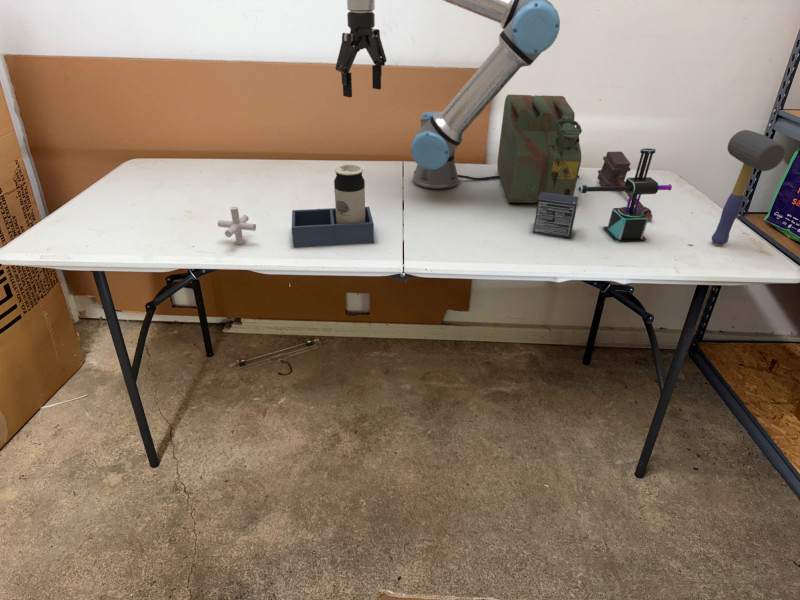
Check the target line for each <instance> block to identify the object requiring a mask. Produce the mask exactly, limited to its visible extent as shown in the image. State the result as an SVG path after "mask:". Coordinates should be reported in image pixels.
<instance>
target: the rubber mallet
mask: <svg viewBox="0 0 800 600" xmlns="http://www.w3.org/2000/svg"><path fill="white" fill-rule="evenodd" d="M785 151H786V149H785V147H784V145H783V144H781V143H779V142H778V141H776V140H774V139H772V138H770V137H769V136H767V135H764V134H762V133H758V132H756V131H753V130H749V129H744V130H740V131H738V132H736V133H735V134H734V135H732V137H730V139H729V141H728V143H727V152H728V153H729V154H730V156H732V157H733V158H734V159H736V160H738V161H740V163H742V164H743V165H742V167H741V170H740V172H739V175H738V177H737V179H736V182H735V184H734V187H733V189H732V192H731V193H730V194H729V196H728V198H727V200H726V201H725V203H724V206H723V208H722V210H721V215H720V219H719V222H718V223H717V226H716V229H715V231H714V233H713V234H712V235H711V241H712V244H713V245H715V246H718V247H722V246H725V245H726V244H727V243H728V241H729V238H730V232H731V230H732V228H733V225H734V222H735V220H736V219H737V217H738V215H739V213H740V211H741V208H742V204H743V201H744V194H745V192H746V188H747V186H748V184H749V181H750V178H751V176H752V174H753V171H754V169H756V170H757V171H758V170H759V171H761V172H762V171H763V172H768V171H771V170H773V169H775V168H776V167H778V166H779V165H780V164H781V163H782V161H783V159H784V157H785V153H786V152H785Z"/></svg>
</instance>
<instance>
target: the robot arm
mask: <svg viewBox="0 0 800 600" xmlns="http://www.w3.org/2000/svg"><path fill="white" fill-rule="evenodd" d="M442 1H443V2H445V3H447V4H450V5H453V6H456V7H458V8H460V9H463V10H465V11H468V12H470V13H473V14H476V15H478V16H480V17H483V18H486V19H488V20H490V21H493V22H496V23H498V24H499V25H500V27H501V29H503V30H502V31H501V32H500V33H499V35H498V44H497V46H496V47H495V48H494V49H493V51H492V52H491V53H490V54H489V56H487V58H486V59H485V60H484V61H483V62H482V64H481V65H480V66H479V67H478V69H477V70H476V71H475V72H474V74H473V75H472V76H471V77H470V78H469V79H468V81H466V83H465V84H464V85H463V87H462V88H461V89H460V90H459V91H458V93H457V94H456V95H455V96H454V97H453V99H452V100H451V101H450V102H449V103H448V104H447V106H446V107H445V108H444V109H443V111H424V112H423V113H422V114H421V116H420V119H419V122H420V129H419V130H418V132H417V133H416V134H415V136H414V137H413V139H412V142H411V147H410V153H411V157H412V159H413V161H414V162H415V163H416V168H415V170H414V171H413V183H414V184H415V185H416V186H418V187H420V188H423V189H428V190H447V189H452V188H454V187H456V186H457V185H458V183H459V178H461V179H467V180H471V181H484V180H485V181H486V180H493V179H500V176H499V175H491V176H482V177H474V176H469V175H462V174H458V171H457V167H456V164H455V154H456V153H455V152H456V149H457V148H458V147H459V145H461V144H462V142H463V141H464V133H465V131H466V130H467V129H468V128H469V127H470V126H471V124H473V122H474V121H475V120H476V119H477V118H478V117H479V116H480V115H481V114H482V112H484V110H485V109H486V108H487V106H489V104H490V103H491V102H492V101H493V100H494V98H495V97H496V96H497V95H498V94H499V93H500V92H501V90H503V88H504V87H505V86H506V85H507V84H508V83H509V82H510V81H511V80H512V78H513V77H514V76H515V75H516V73H518V72H519V70H520V69H521V68H522V67H523V68H524V67H530V66H531V65H532V64H533V63H534V62H535V61H536V60H537V58H539V57H540V55H542V53H544V52H545V51H547V50H548V49H550V47H552V45H553V44H554V43H555V41H556V40H557V38H558V35H559V32H560V29H561V28H560V27H561V20H560V15H559V12H558V10H557V9H556V8H555V6H554V5H553V4H552V3H551V2H550V1H549V0H442ZM375 3H376V1H375V0H346V7H347V8H346V10H347V11H348V12H347V13H346V16H347V27H348V28H349V29H350V31H349V32H343V33H342V34H341V44H340V48H339V52H338V56H337V60H336V64H335V71H336V72H337V71H338V73H340V74H341V75H340V76H341V84H342V97H344V98H345V97H346V98H353V84H352V83H353V82H352V72H350V70H351V68H352V66H353V64H354V61H355V59H356V57H357V55H358V53H359V52H360V51H361V50H364V49H365V50H366V51H367V53H368V55H369V57H370V59H371V61H372V63H373V65H372V66H371V71H372V73H371V74H372V89H374V90H382V75H383V74H382V69H383V68H382V67H384V66H385V65H386V63H387V57H386V53H385V49H384V46H383V42H382V40H381V39H382V38H381V33H380V29H378V28H374V27H375V26H376V25H375V23H376V21H375V20H376V19H375V15H376V14H375V13H374V12H373V11H375V10H376V6H375V5H376V4H375ZM579 178H580V175H579V174H578V177H577V179H579Z"/></svg>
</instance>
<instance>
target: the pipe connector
mask: <svg viewBox="0 0 800 600" xmlns="http://www.w3.org/2000/svg"><path fill="white" fill-rule="evenodd" d="M230 214H231V220H222V219H218V221H217V226H218V228H223V229H224V228H226V231H224V236H225V237H227V238H231V237H232V236H233V235H234V237H235V243H236V245H243V244H244V238H243V231H252V232H255V231H256V229H257V224H256V223H251V222H248V221H249V216H248V215H246V214H243V215H242V216H241V217H240V214H239V208H238V206H231V207H230ZM242 230H243V231H242Z"/></svg>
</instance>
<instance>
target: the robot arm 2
mask: <svg viewBox="0 0 800 600" xmlns="http://www.w3.org/2000/svg"><path fill="white" fill-rule="evenodd" d="M656 151H657V150H656V149H655V148H649V147H647V148H640V150H639V153H640V157H639V160H638V164H637V167H636V172H635V174H634V177H626V178H625V179H626V180H625V182H626V183H625V186H602V185H601V186H588V185H587V184H584V185H583V184H580V186H579V187H578V193H580V194H587V193H589V192H590V193H591V192H625V191H627V192H628V193H629V194H630V197H629V196H628V200H627V204H626V206H622V207H613V208H612V209H611V213H610V217H609V220H608V225H607V226H603V227H602V230H603V231H605V233H606V234H607V235H608V236H609V237H610V238H611V239H612V240H613V241H614V242H615V243H641V242H647V238H646V237H645V236H644V235H645V231H646V227H647V225H648V221H649V220H648V217H647V216H646V215H645V214H643V212H642V211H640V210H639V209H638V208H637V207H638V203H639V201H640V200H641V196H642V195H656V194H657V193H658V191H671V190H672V188H673V187H672V184H670V183H669V184H659V183H658V182H657V181H656V180H654V178H652V177H650V176H648V172H649V168H650V165H651V162H652V158H653V155H654V154H656ZM632 195H633V198H632ZM631 198H632V200H631ZM636 199H637V202H636ZM635 203H636V205H635Z"/></svg>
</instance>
